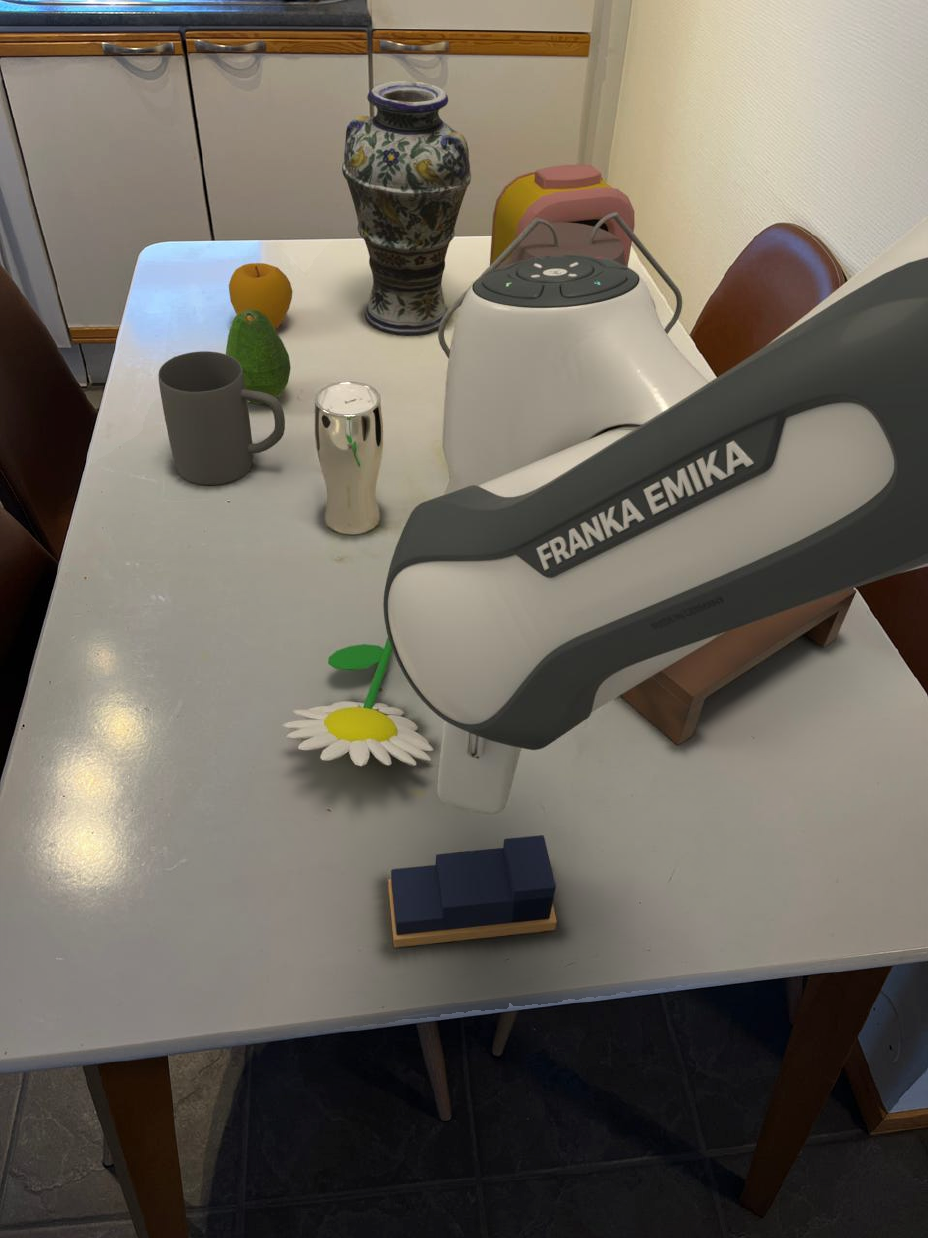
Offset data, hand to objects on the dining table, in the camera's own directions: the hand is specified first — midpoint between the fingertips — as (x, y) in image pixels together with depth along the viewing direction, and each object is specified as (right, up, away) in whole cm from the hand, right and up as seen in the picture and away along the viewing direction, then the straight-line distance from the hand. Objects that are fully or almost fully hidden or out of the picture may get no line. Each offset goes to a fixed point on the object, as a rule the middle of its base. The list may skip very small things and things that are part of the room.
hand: (501, 732), depth 60 cm
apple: (-31, +48, +77) cm, 96 cm away
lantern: (+7, +25, +55) cm, 61 cm away
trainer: (-2, -15, +12) cm, 19 cm away
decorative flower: (-10, +1, +29) cm, 31 cm away
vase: (-11, +51, +82) cm, 97 cm away
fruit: (-28, +35, +63) cm, 77 cm away
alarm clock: (+11, +55, +87) cm, 103 cm away
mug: (-29, +25, +52) cm, 65 cm away
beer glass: (-15, +18, +46) cm, 52 cm away
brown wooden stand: (+20, +6, +35) cm, 41 cm away
